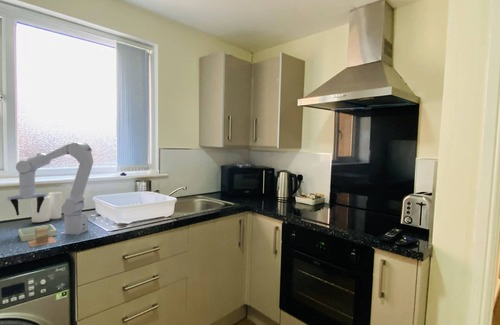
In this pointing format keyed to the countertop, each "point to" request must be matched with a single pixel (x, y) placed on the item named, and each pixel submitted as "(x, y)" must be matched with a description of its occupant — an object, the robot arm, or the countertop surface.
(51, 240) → the terracotta tile
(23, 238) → the pale green bin
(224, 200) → the countertop surface
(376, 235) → the countertop surface
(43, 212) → the cup
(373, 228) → the countertop surface
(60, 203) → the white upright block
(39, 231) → the birch block
